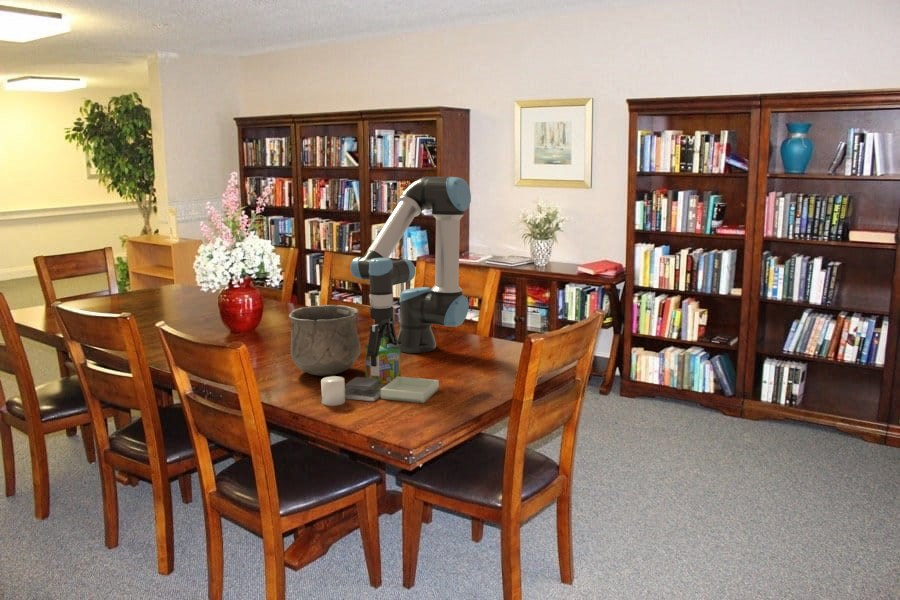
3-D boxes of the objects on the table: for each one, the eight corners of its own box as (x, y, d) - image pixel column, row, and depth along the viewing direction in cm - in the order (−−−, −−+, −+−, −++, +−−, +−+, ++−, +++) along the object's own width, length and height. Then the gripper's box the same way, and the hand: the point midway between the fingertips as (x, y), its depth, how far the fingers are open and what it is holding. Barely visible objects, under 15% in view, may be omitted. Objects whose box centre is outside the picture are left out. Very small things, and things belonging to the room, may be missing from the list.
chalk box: (365, 378, 257) (363, 335, 254) (390, 374, 261) (389, 332, 258) (376, 386, 249) (375, 341, 246) (402, 381, 253) (401, 338, 250)
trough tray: (397, 385, 250) (397, 376, 249) (438, 389, 245) (438, 380, 245) (380, 398, 237) (380, 389, 236) (423, 403, 232) (423, 393, 232)
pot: (277, 371, 265) (274, 310, 261) (336, 359, 280) (334, 301, 276) (314, 388, 247) (312, 323, 242) (375, 374, 261) (374, 312, 257)
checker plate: (356, 379, 247) (356, 376, 246) (379, 382, 244) (379, 379, 244) (345, 387, 239) (345, 384, 239) (369, 389, 237) (369, 386, 236)
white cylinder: (328, 397, 238) (327, 375, 237) (349, 399, 236) (348, 377, 235) (317, 404, 232) (316, 382, 230) (338, 406, 230) (338, 384, 228)
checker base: (353, 384, 250) (352, 379, 250) (390, 388, 246) (390, 382, 246) (335, 397, 238) (334, 391, 238) (373, 401, 234) (373, 395, 234)
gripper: (385, 298, 262) (386, 359, 267) (354, 313, 240) (356, 379, 244) (406, 299, 260) (407, 361, 264) (377, 314, 237) (378, 381, 242)
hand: (383, 370), depth 254 cm, fingers closed on chalk box, 12 cm apart
